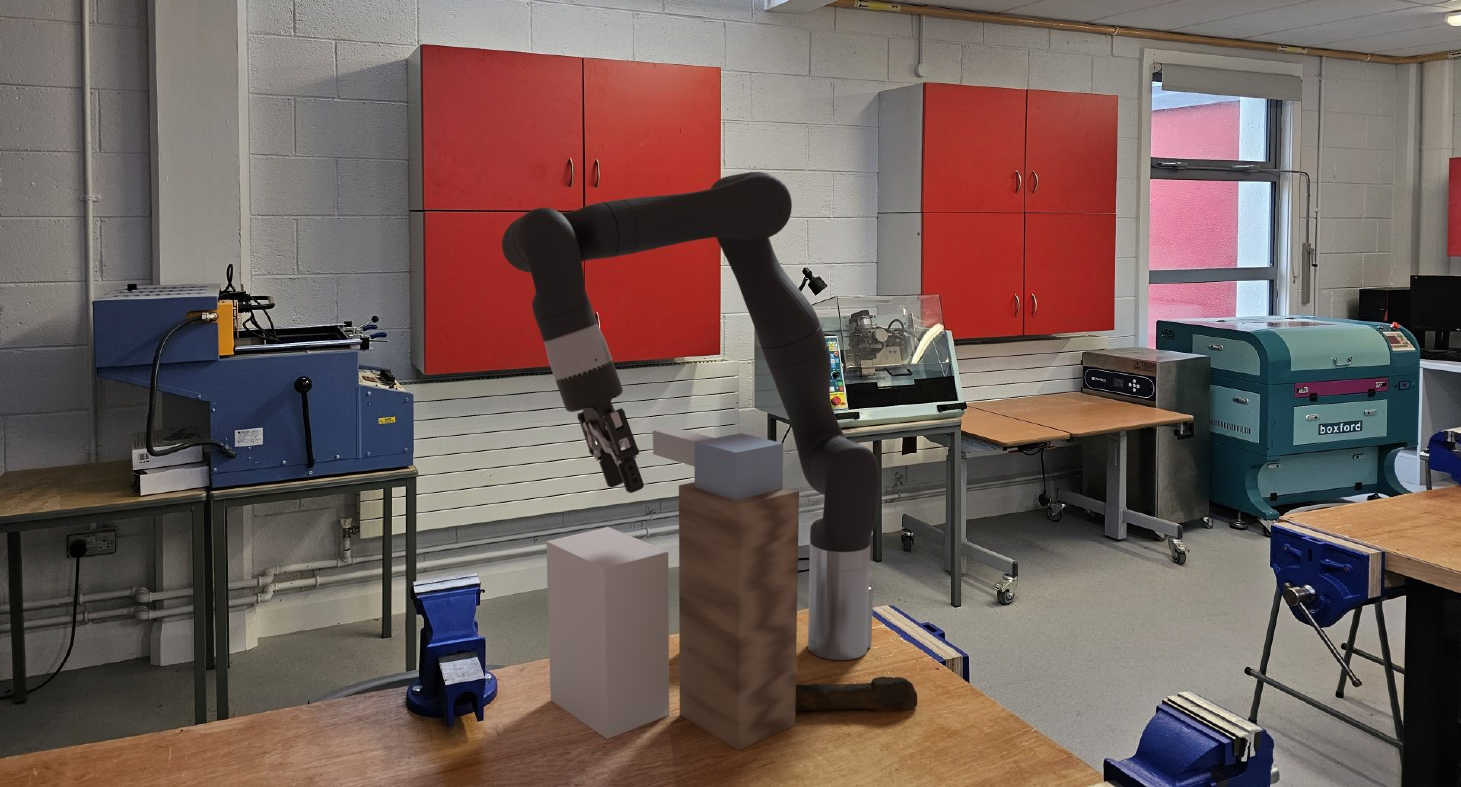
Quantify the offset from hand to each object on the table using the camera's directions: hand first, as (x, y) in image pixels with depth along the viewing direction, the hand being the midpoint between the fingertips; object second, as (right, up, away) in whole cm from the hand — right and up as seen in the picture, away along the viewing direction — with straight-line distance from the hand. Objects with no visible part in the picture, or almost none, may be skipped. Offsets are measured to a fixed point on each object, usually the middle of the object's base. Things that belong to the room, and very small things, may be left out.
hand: (626, 487), depth 128 cm
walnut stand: (+14, -32, +7) cm, 35 cm away
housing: (+10, +1, +6) cm, 12 cm away
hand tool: (+29, -32, +11) cm, 44 cm away
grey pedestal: (-3, -31, +10) cm, 33 cm away
